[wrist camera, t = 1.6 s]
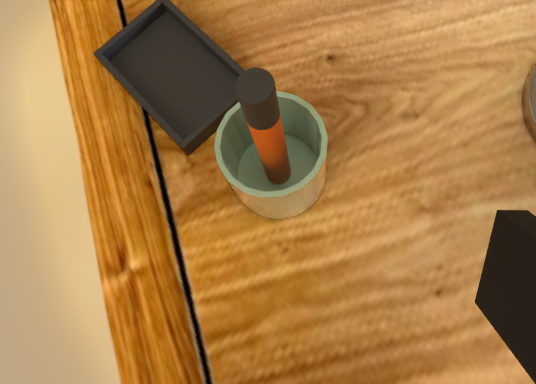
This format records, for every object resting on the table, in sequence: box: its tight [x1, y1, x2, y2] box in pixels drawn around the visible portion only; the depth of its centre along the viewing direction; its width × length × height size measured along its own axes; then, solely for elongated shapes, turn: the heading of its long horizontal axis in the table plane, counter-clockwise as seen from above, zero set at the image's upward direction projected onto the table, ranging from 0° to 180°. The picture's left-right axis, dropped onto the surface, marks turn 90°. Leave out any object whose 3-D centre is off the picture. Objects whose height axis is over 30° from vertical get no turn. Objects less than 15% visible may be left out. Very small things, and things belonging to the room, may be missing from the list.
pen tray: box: [93, 0, 245, 155], centre depth 46 cm, size 15×10×2 cm, turn 43°
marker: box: [235, 68, 291, 184], centre depth 34 cm, size 2×2×17 cm
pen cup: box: [214, 91, 328, 219], centre depth 38 cm, size 9×9×8 cm
